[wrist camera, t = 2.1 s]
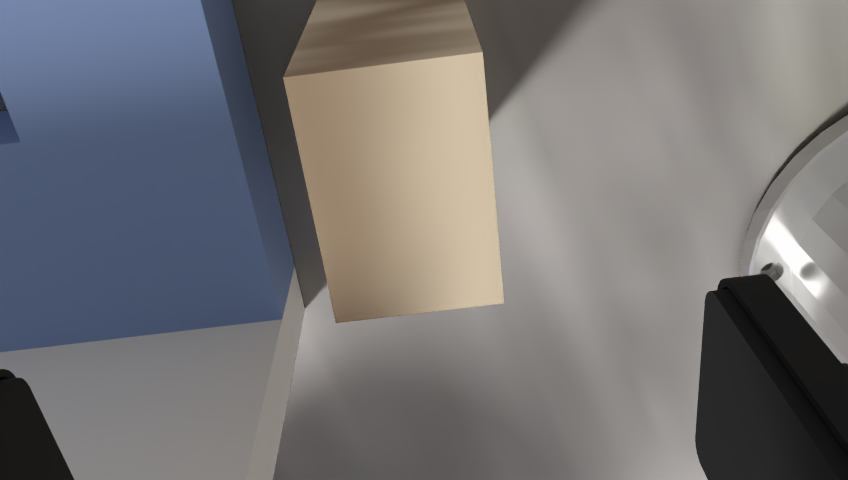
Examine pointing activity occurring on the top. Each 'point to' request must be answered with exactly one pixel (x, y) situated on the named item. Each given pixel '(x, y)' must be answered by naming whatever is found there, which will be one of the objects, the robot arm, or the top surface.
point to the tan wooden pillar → (397, 156)
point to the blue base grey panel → (143, 240)
